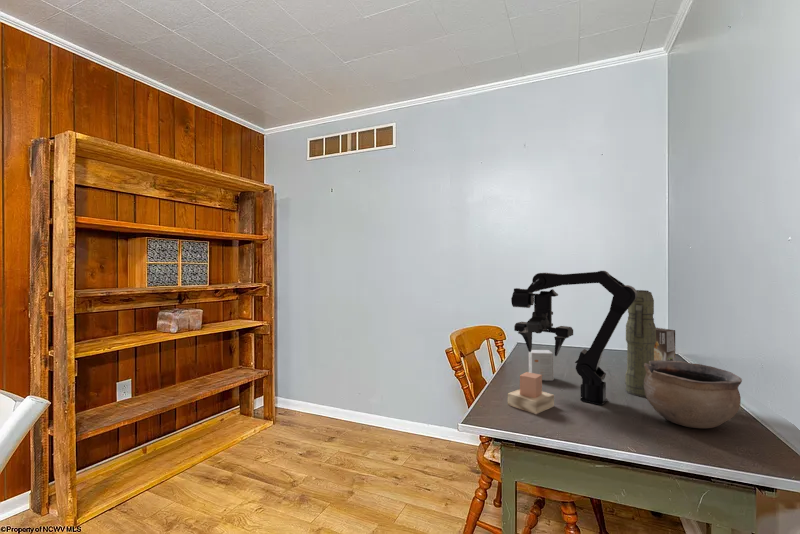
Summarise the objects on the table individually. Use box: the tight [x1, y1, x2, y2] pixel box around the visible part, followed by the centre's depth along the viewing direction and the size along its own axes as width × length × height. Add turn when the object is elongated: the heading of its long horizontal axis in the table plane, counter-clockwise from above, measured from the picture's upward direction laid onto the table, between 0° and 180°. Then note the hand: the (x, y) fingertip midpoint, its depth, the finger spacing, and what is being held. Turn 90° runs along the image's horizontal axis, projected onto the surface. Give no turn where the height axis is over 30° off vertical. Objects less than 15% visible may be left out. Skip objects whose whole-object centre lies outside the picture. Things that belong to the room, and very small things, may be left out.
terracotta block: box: [519, 371, 543, 398], centre depth 122 cm, size 5×5×6 cm
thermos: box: [624, 289, 657, 398], centre depth 134 cm, size 9×12×35 cm
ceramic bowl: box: [644, 360, 743, 429], centre depth 109 cm, size 22×22×15 cm
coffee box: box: [654, 327, 676, 361], centre depth 168 cm, size 9×6×16 cm
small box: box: [528, 349, 554, 381], centre depth 151 cm, size 8×6×10 cm
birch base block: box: [507, 388, 555, 415], centre depth 122 cm, size 10×10×4 cm
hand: (542, 353), depth 136 cm, fingers open, 9 cm apart
